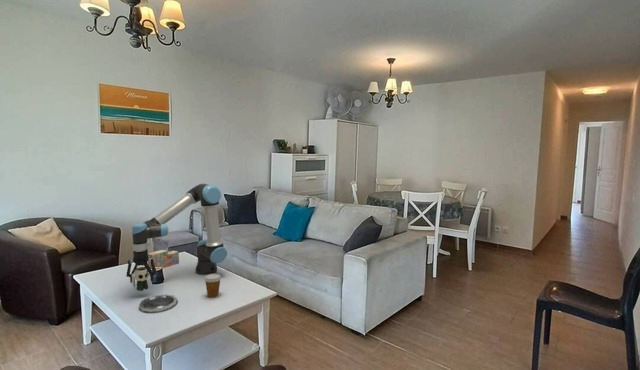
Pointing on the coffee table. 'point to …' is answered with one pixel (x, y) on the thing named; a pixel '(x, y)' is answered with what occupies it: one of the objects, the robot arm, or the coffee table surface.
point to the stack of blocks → (164, 258)
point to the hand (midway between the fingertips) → (142, 286)
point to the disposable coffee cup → (212, 284)
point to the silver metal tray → (158, 303)
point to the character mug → (141, 278)
